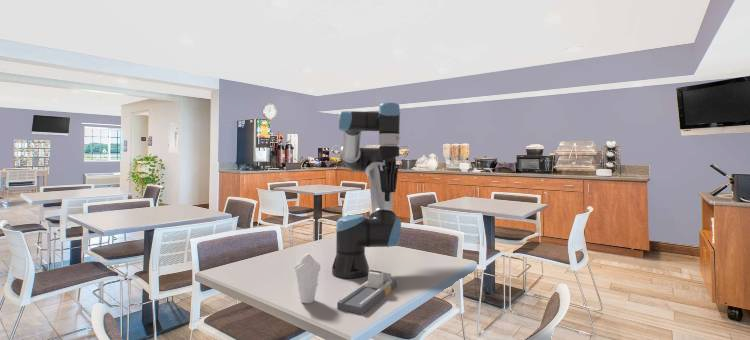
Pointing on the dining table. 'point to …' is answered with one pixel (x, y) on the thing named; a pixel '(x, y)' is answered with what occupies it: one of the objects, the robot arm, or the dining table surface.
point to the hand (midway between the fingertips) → (388, 209)
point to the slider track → (366, 296)
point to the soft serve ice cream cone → (307, 278)
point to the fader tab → (375, 279)
